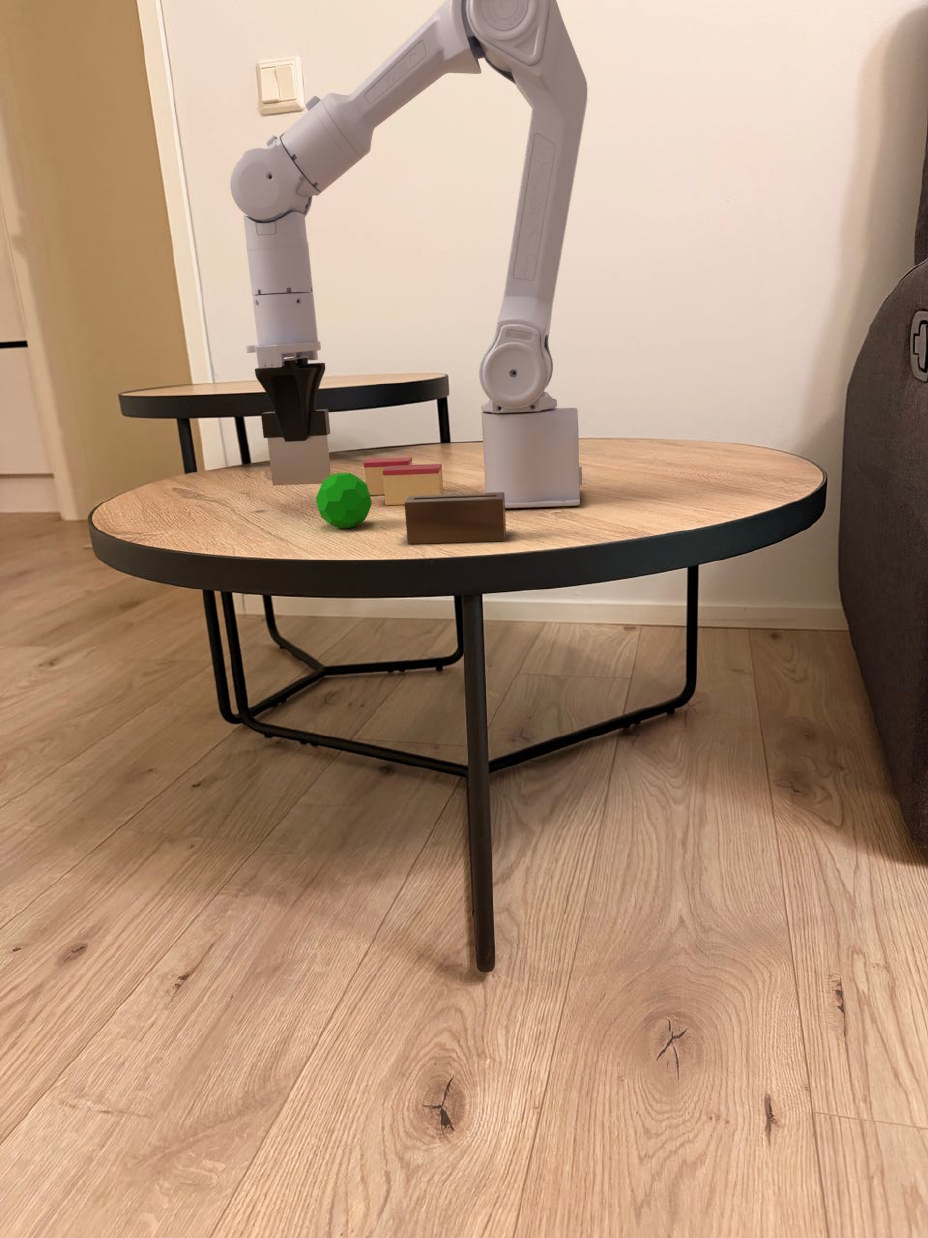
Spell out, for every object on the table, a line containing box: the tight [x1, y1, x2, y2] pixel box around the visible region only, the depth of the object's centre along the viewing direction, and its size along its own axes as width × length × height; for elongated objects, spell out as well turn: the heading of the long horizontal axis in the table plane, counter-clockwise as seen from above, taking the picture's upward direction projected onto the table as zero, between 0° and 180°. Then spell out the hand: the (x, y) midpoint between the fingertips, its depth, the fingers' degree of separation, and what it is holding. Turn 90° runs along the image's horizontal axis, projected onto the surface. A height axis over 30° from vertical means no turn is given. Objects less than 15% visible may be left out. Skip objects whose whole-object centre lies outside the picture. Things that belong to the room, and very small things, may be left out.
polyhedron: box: [315, 472, 373, 529], centre depth 83 cm, size 5×5×5 cm
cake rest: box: [383, 463, 445, 506], centre depth 93 cm, size 6×3×4 cm, turn 85°
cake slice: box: [363, 456, 413, 496], centre depth 99 cm, size 5×3×4 cm, turn 85°
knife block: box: [404, 492, 507, 545], centre depth 76 cm, size 8×3×4 cm, turn 85°
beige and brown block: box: [260, 408, 332, 487], centre depth 92 cm, size 6×2×7 cm, turn 85°
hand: (298, 439), depth 91 cm, fingers closed on beige and brown block, 1 cm apart
